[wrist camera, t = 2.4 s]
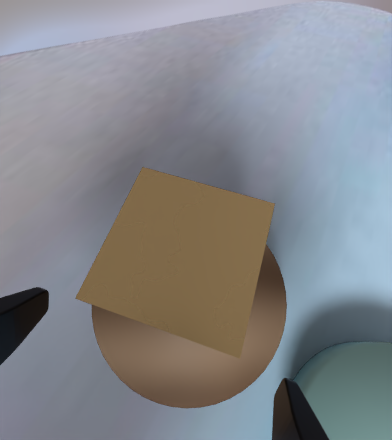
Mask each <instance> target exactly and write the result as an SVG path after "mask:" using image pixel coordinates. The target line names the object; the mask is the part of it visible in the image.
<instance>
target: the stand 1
mask: <svg viewBox="0 0 392 440" xmlns="http://www.w3.org/2000/svg"><path fill="white" fill-rule="evenodd" d="M286 308H287V303H286V291H285V286H284V281H283V277H282V274H281V271H280V268H279V266H278V264H277V262H276V259H275V257H274V256H273V254H272V252H271V251H270V249H269V248H268V246H267V245H266V246H265V250H264V255H263V259H262V264H261V268H260V273H259V277H258V281H257V286H256V290H255V295H254V299H253V304H252V308H251V313H250V317H249V322H248V326H247V331H246V335H245V339H244V344H243V348H242V353H241V357H240V359H239V358H237V357H234V356H231V355H229V354H226V353H223V352H220V351H218V350H215V349H212V348H209V347H207V346H204V345H201V344H198V343H196V342H193V341H190V340H188V339H185V338H182V337H179V336H177V335H174V334H171V333H168V332H166V331H163V330H160V329H157V328H155V327H152V326H149V325H147V324H144V323H141V322H138V321H136V320H133V319H130V318H127V317H125V316H122V315H119V314H116V313H114V312H111V311H108V310H106V309H103V308H100V307H97V306H95V305H92V320H93V327H94V332H95V335H96V339H97V343H98V345H99V347H100V350H101V352H102V354H103V356H104V358H105V360H106V361H107V363H108V364H109V366H110V368H111V369H112V370H113V371H114V373H115V374H116V375H117V376H118V377H119V379H120V380H121V381H123V382H124V383H125V384H126V385H127V386H128V387H129V388H130V389H132V390H133V391H135V392H136V393H138V394H140V395H141V396H143V397H145V398H147V399H149V400H151V401H154V402H156V403H159V404H163V405H167V406H170V407H179V408H198V407H205V406H209V405H214V404H217V403H220V402H222V401H225V400H227V399H230V398H232V397H233V396H235V395H237V394H238V393H240V392H242V391H243V390H245V389H246V388H247V387H248V386H249V385H251V384H252V383H253V382H254V381H255V380H256V379H257V378H258V377H259V376H260V375H261V374H262V373H263V372H264V370H265V369H266V367H267V366H268V364H269V363H270V362H271V360H272V359H273V357H274V355H275V352H276V350H277V348H278V346H279V344H280V341H281V338H282V335H283V331H284V326H285V321H286Z"/></svg>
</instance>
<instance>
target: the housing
mask: <svg viewBox="0 0 392 440" xmlns="http://www.w3.org/2000/svg"><path fill="white" fill-rule="evenodd" d="M274 206H275V204H274V203H271V202H267V201H263V200H260V199H256V198H253V197H249V196H245V195H242V194H238V193H235V192H231V191H227V190H224V189H220V188H217V187H213V186H209V185H206V184H202V183H199V182H195V181H191V180H188V179H184V178H180V177H177V176H173V175H170V174H166V173H162V172H159V171H155V170H152V169H148V168H144V167H142V169H141V171H140V173H139V175H138V177H137V179H136V181H135V183H134V185H133V187H132V189H131V191H130V193H129V195H128V197H127V199H126V201H125V202H124V204H123V206H122V208H121V210H120V212H119V214H118V216H117V218H116V220H115V222H114V224H113V226H112V228H111V230H110V232H109V234H108V236H107V238H106V240H105V241H104V243H103V245H102V247H101V249H100V251H99V253H98V255H97V257H96V259H95V261H94V263H93V265H92V267H91V269H90V271H89V273H88V275H87V277H86V278H85V280H84V282H83V284H82V286H81V288H80V290H79V292H78V294H77V296H76V299H78V300H81V301H84V302H86V303H89V304H92V305H95V306H97V307H100V308H103V309H106V310H108V311H111V312H114V313H116V314H119V315H122V316H125V317H127V318H130V319H133V320H136V321H138V322H141V323H144V324H147V325H149V326H152V327H155V328H157V329H160V330H163V331H166V332H168V333H171V334H174V335H177V336H179V337H182V338H185V339H188V340H190V341H193V342H196V343H198V344H201V345H204V346H207V347H209V348H212V349H215V350H218V351H220V352H223V353H226V354H229V355H231V356H234V357H237V358H239V359H240V357H241V353H242V348H243V344H244V339H245V335H246V331H247V326H248V322H249V317H250V313H251V308H252V304H253V299H254V295H255V290H256V286H257V281H258V277H259V273H260V268H261V264H262V259H263V255H264V250H265V246H266V241H267V237H268V232H269V228H270V224H271V219H272V215H273V210H274Z"/></svg>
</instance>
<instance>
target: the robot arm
mask: <svg viewBox="0 0 392 440" xmlns="http://www.w3.org/2000/svg"><path fill="white" fill-rule="evenodd" d="M48 306H49V293H48V291H47V290H45V289H43V288H40V287H36V288H32V289H29V290H25V291H22V292H19V293H15V294H12V295H9V296H5V297H2V298H0V365H1V364H2V363H3V362H4V361H5V360H6V359H7V358H8V357H9V356H10V355H11V354H12V353H13V352H14V351H15V350H16V348H17V347H18V346H19V345H20V344H21V343H22V342H23V340H24V339H25V338H26V337H27V335H28V334H29V333H30V332H31V331H32V329H33V328H34V327H35V326H36V325H37V323H38V322H39V321H40V320H41V319H42V317H43V316H44V315H45V314H46V312H47V310H48ZM272 440H330V439H329V438H328V436H327V434H326V432H325V431H324V429H323V427H322V425H321V424H320V422H319V420H318V418H317V417H316V415H315V413H314V411H313V410H312V408H311V406H310V404H309V403H308V401H307V399H306V397H305V396H304V394H303V392H302V390H301V389H300V387H299V385H298V384H297V383H296V382H295V381H292V380H290V379H287V378H284V379H283V380H282V381H281V383H280V385H279V387H278V389H277V391H276V393H275V397H274V408H273V429H272Z"/></svg>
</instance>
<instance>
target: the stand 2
mask: <svg viewBox="0 0 392 440" xmlns="http://www.w3.org/2000/svg"><path fill="white" fill-rule="evenodd" d="M293 381H295V382H296V383H297V384H298V385H299V387H300V389H301V390H302V392H303V394H304V396H305V397H306V399H307V401H308V403H309V404H310V406H311V408H312V410H313V411H314V413H315V415H316V417H317V418H318V420H319V422H320V424H321V425H322V427H323V429H324V431H325V432H326V434H327V436H328V438H329V439H330V440H392V343H390V342H346V343H341V344H337V345H334V346H331V347H329V348H326V349H324V350H323V351H321V352H319V353H318V354H316V355H315V356H313V357H312V358H311V359H310V360H309V361H308V362H307V363H306V364H305V365H304V366H303V367H302V368H301V370H300V371H299V372H298V374H297V375H296V377H295V379H294V380H293Z"/></svg>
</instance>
